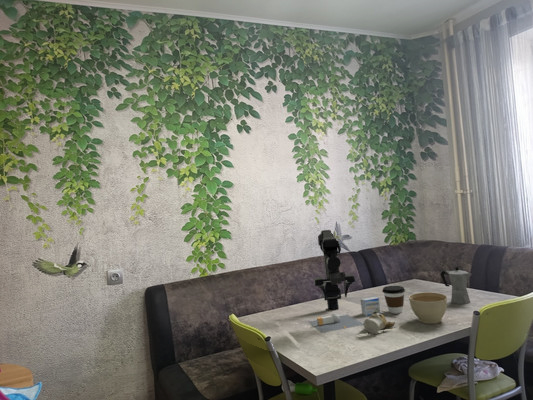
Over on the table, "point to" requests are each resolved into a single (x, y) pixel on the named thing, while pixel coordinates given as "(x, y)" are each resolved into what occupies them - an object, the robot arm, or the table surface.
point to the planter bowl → (428, 306)
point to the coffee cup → (394, 298)
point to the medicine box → (370, 305)
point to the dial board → (337, 324)
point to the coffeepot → (458, 285)
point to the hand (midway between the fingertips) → (335, 298)
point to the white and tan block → (328, 319)
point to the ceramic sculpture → (376, 323)
